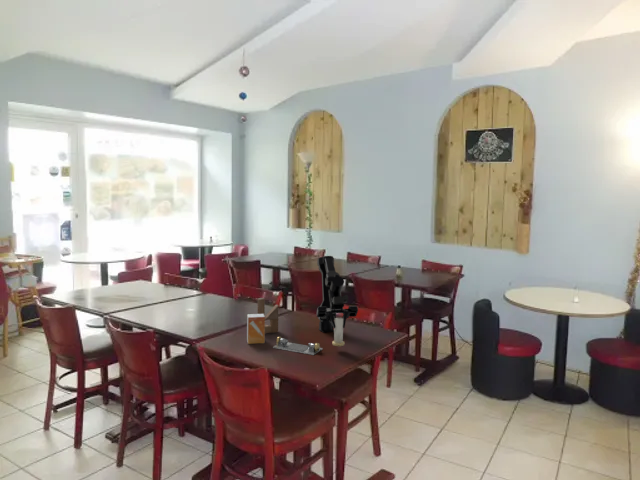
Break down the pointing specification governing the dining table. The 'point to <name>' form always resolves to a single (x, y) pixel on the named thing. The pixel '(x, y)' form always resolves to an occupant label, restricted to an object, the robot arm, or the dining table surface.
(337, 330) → the grey upright cylinder
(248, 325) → the small box
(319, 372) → the dining table surface
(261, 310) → the wooden block
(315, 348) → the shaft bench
